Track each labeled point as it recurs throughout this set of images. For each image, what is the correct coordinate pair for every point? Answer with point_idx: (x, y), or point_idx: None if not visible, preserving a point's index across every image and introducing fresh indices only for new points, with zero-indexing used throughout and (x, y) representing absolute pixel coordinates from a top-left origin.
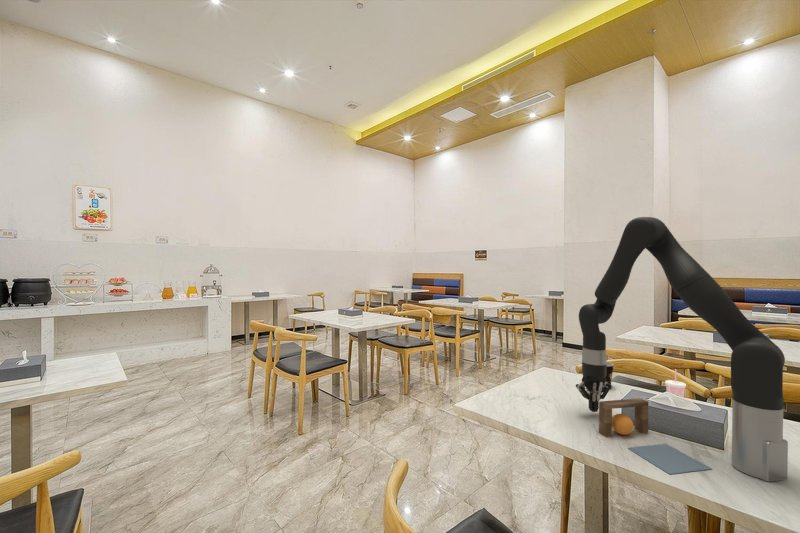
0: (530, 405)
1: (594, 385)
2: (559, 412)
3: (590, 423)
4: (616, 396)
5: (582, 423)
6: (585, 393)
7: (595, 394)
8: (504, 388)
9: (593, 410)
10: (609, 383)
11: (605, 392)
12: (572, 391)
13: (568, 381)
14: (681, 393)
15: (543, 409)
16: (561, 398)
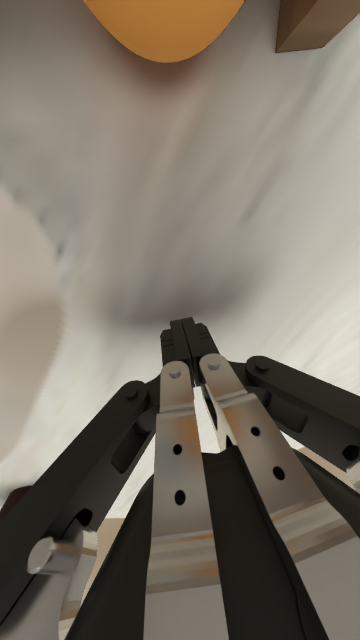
0: (333, 376)
1: (353, 578)
2: (293, 337)
3: (257, 225)
4: (4, 459)
5: (297, 227)
6: (337, 399)
7: (227, 402)
8: (300, 444)
9: (193, 322)
10: (3, 514)
11: (94, 448)
12: (142, 460)
13: (121, 494)
14: None
15: (323, 355)
16: (204, 423)
